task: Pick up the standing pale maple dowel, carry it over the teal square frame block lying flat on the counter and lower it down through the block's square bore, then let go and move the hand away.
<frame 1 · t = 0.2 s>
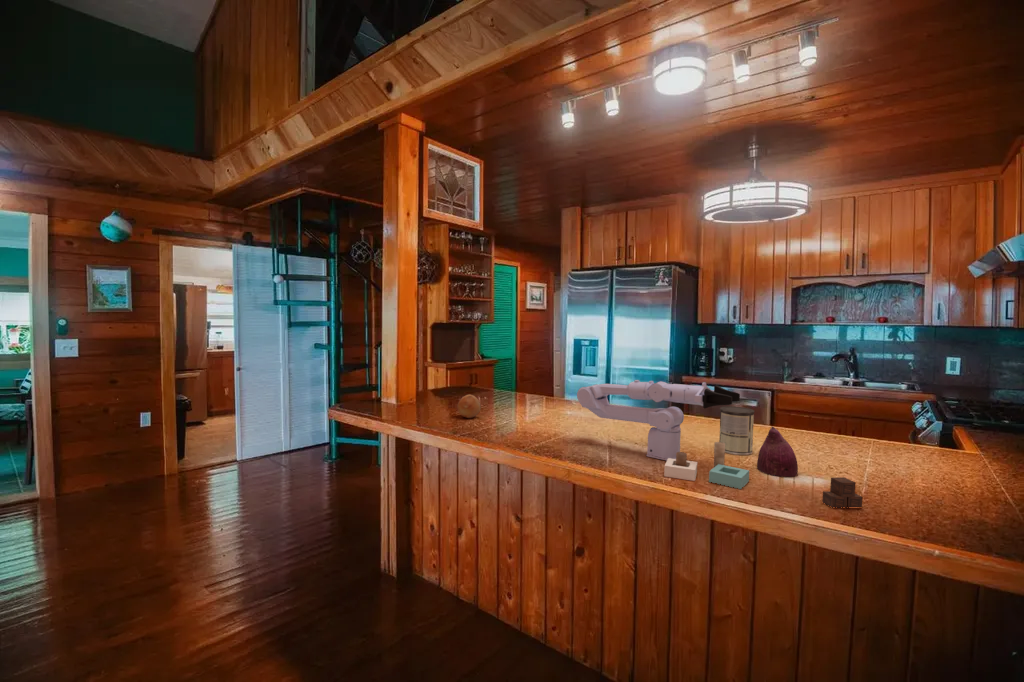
hand: (735, 398, 135), 21 cm above the countertop, tool horizontal, fingers open, 7 cm apart
teal square frame block: (728, 481, 127), on the countertop
maple dowel: (718, 470, 136), on the countertop
vegetable: (777, 472, 136), on the countertop
coffee can: (735, 451, 157), on the countertop
stack of crates: (836, 506, 113), on the countertop
onion: (468, 418, 201), on the countertop
walnut dowel: (681, 463, 132), in the white peg holder
white peg holder: (680, 474, 132), on the countertop
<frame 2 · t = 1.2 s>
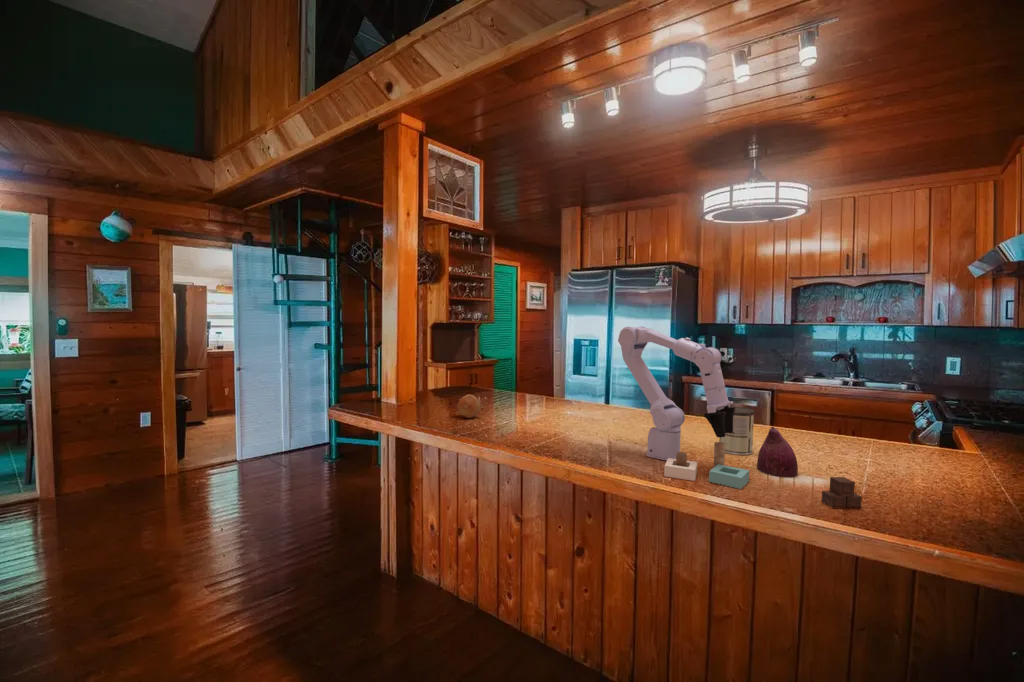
hand: (725, 434, 135), 11 cm above the countertop, tool pointing down, fingers open, 7 cm apart
nothing on the countertop moved.
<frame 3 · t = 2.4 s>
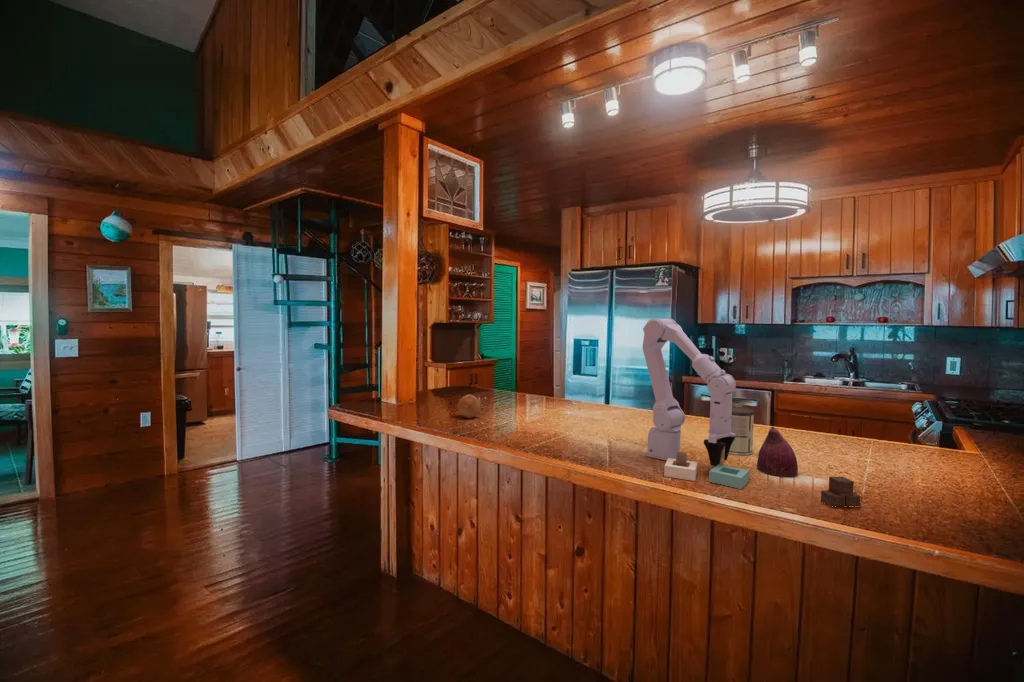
hand: (718, 462, 136), 2 cm above the countertop, tool pointing down, fingers open, 7 cm apart
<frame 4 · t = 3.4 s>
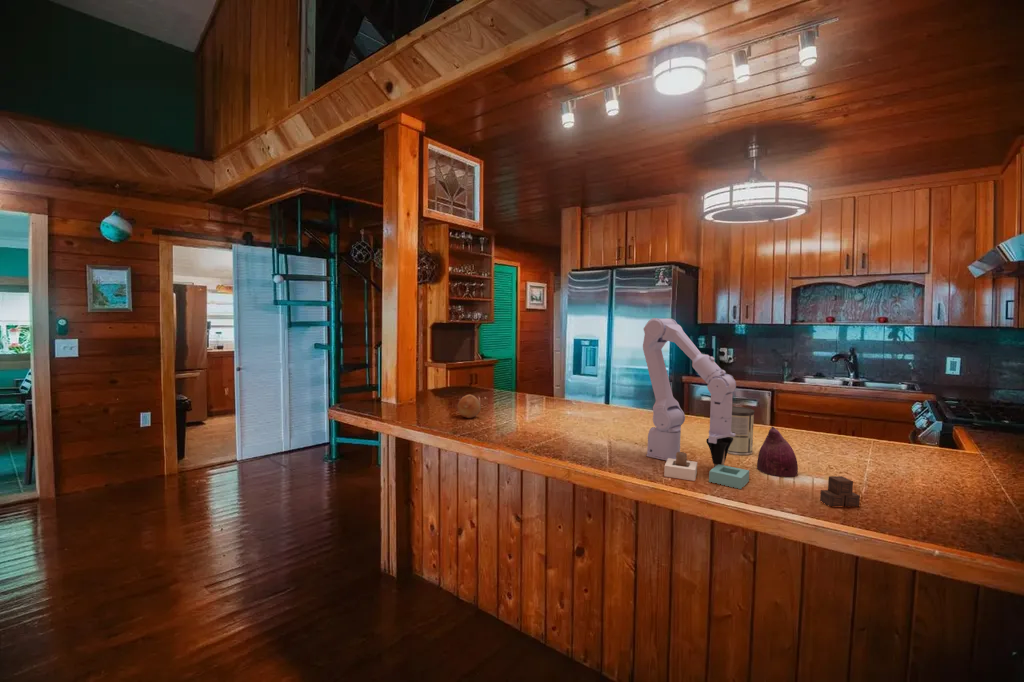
hand: (718, 462, 136), 2 cm above the countertop, tool pointing down, fingers closed on maple dowel, 3 cm apart
maple dowel: (718, 470, 136), on the countertop, touching gripper
everything else where it was.
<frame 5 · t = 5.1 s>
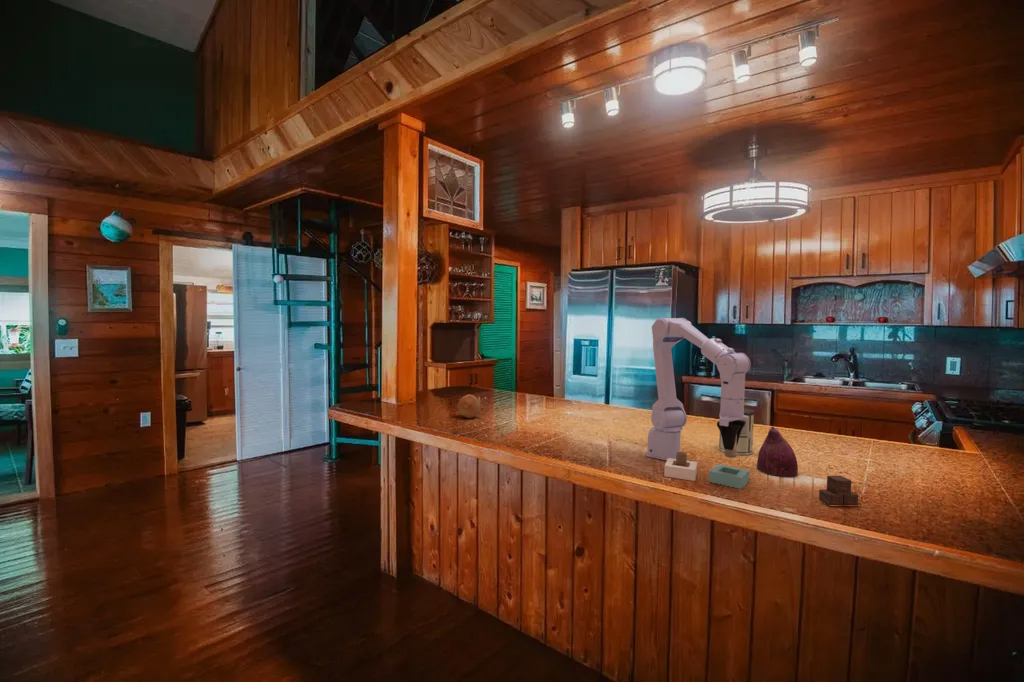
hand: (730, 447, 127), 9 cm above the countertop, tool pointing down, fingers closed on maple dowel, 3 cm apart
maple dowel: (730, 456, 127), point 7 cm above the countertop, touching gripper
when the fingers open (4 cm above the countertop, at t = 6.8 s): maple dowel drops 1 cm, resting in teal square frame block.
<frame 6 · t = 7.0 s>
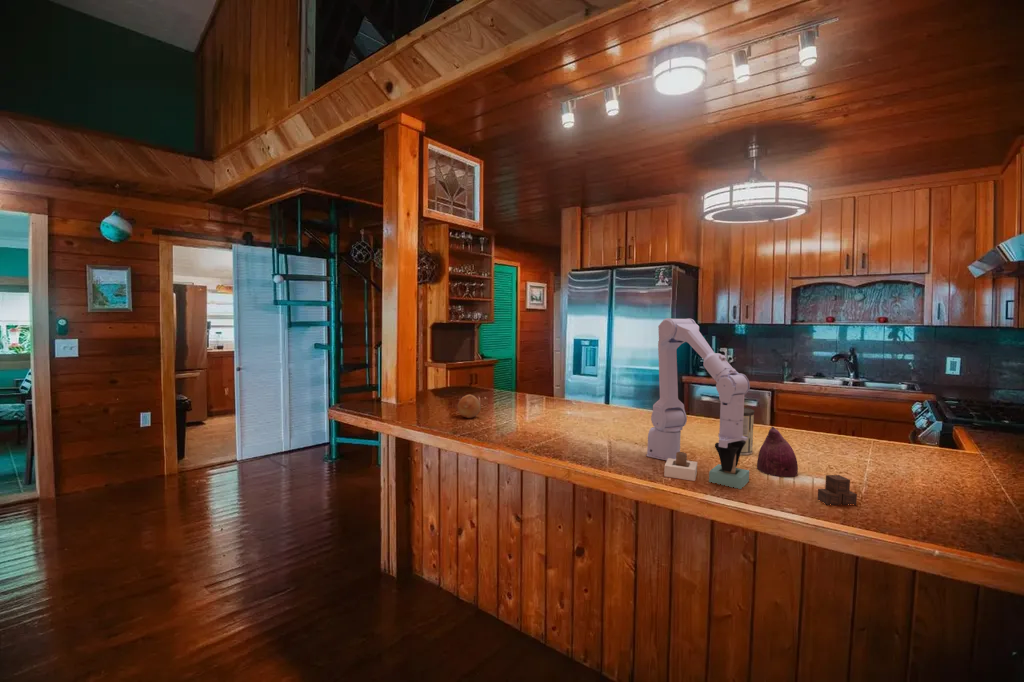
hand: (729, 468, 127), 4 cm above the countertop, tool pointing down, fingers open, 5 cm apart
maple dowel: (729, 481, 127), resting in teal square frame block
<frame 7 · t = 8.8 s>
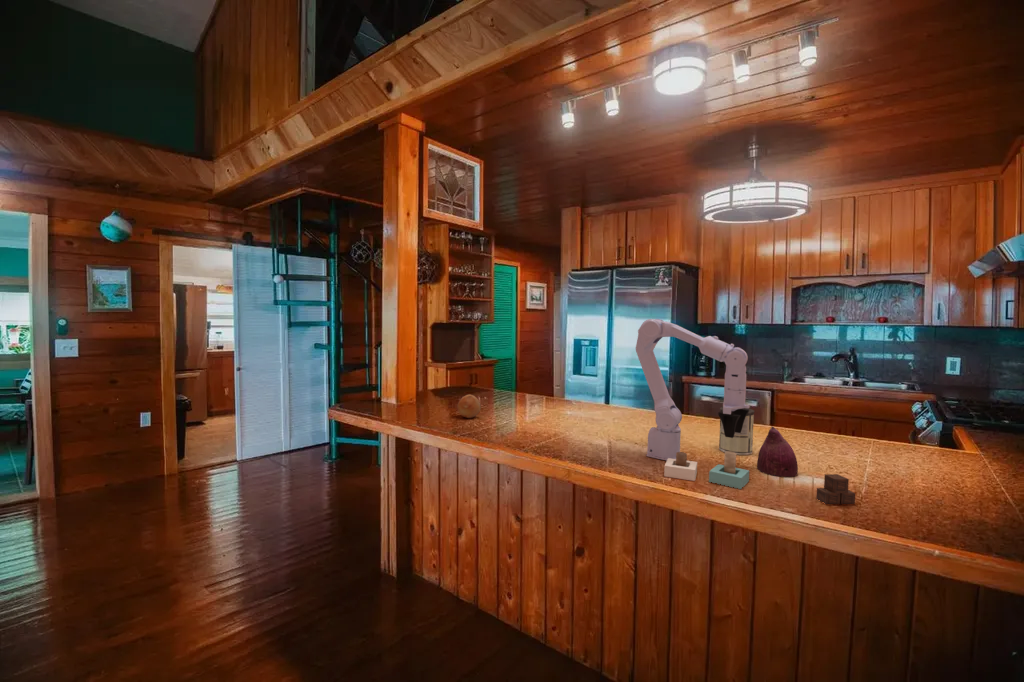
hand: (733, 434, 138), 10 cm above the countertop, tool pointing down, fingers open, 7 cm apart
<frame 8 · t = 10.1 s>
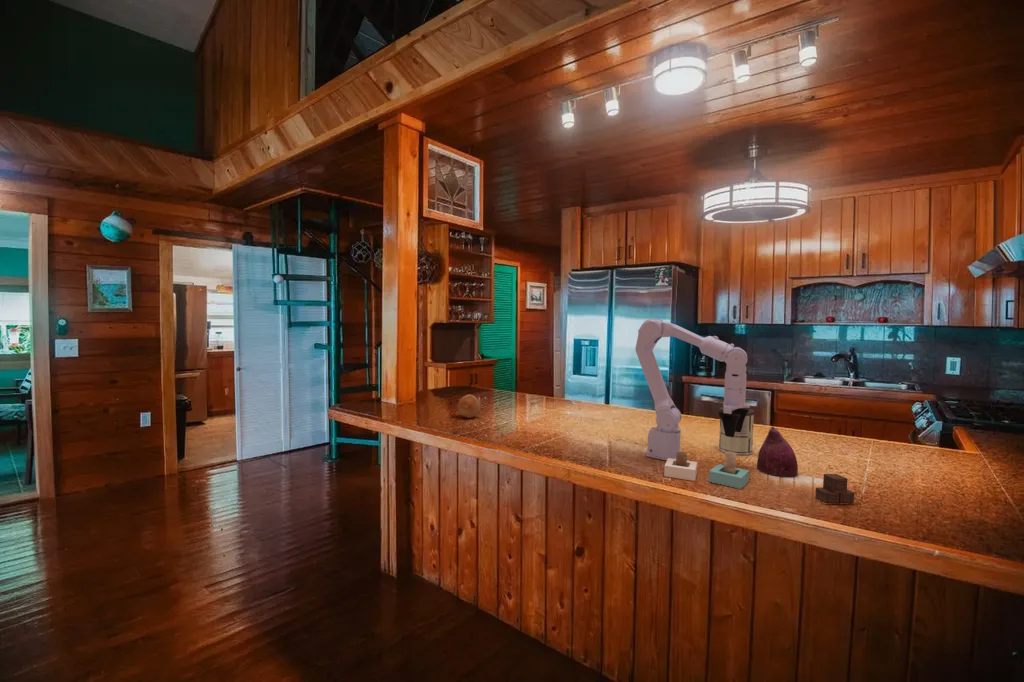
hand: (733, 434, 139), 10 cm above the countertop, tool pointing down, fingers open, 7 cm apart
at the end: maple dowel 0.1 cm off-centre on the teal square frame block, point 0.0 cm above the teal square frame block's base; maple dowel tilted 0°; the gripper is holding nothing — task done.
